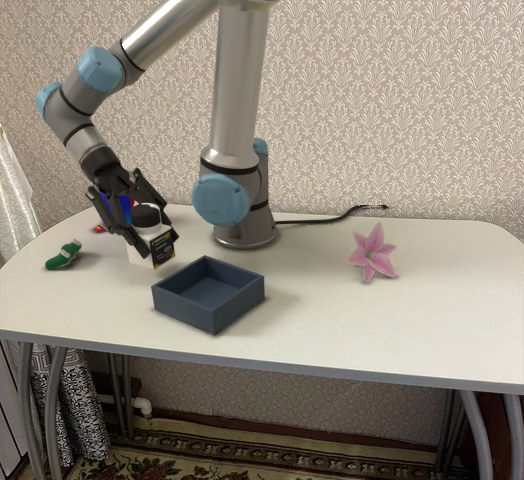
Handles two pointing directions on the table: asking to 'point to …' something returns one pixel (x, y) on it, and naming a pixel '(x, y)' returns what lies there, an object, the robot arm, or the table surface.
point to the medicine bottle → (151, 236)
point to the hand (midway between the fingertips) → (161, 247)
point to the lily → (372, 253)
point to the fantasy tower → (126, 206)
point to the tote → (208, 294)
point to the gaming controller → (64, 255)
